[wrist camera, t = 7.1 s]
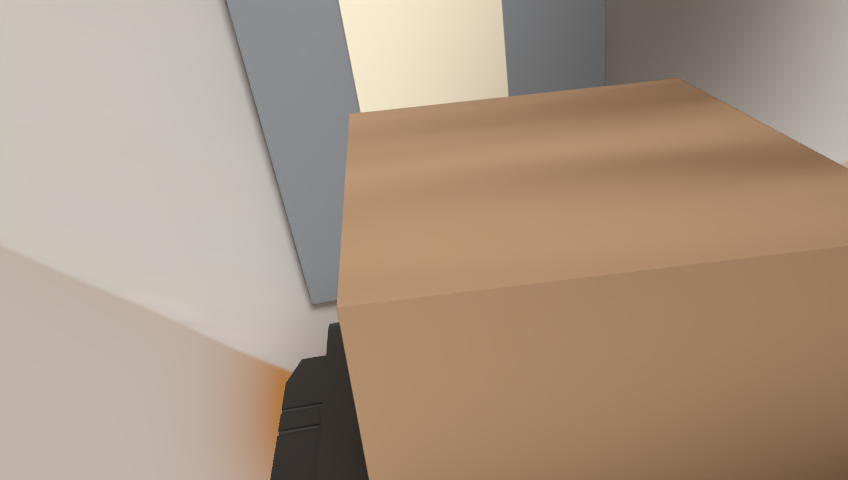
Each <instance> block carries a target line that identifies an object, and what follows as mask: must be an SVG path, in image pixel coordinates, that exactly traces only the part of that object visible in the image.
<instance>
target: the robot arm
mask: <svg viewBox="0 0 848 480" xmlns="http://www.w3.org/2000/svg"><path fill="white" fill-rule="evenodd" d="M278 431H279V436H277V443H276V448H275V454H274V460H273V467H272V473H271V480H369V476H368V471H367V466H366V460H365V455H364V450H363V445H362V439H361V434H360V429H359V423H358V418H357V413H356V407H355V402H354V397H353V392H352V386H351V381H350V376H349V370H348V365H347V360H346V354H345V349H344V344H343V338H342V333H341V328H340V323H339V322H338V323H332V324H330V325H329V329H328V340H327V353H326V355H325V356H319V357H313V358H307V359H302V360H301V362H300V363H299V365H298V366H297V368H296V369H295V371H294V372H293V373H292V375H291V377H290V378H289V379H288V381H287V382H286V386H285V393H284V398H283V404H282V414H281V417H280V423H279V430H278Z"/></svg>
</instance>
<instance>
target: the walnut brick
mask: <svg viewBox="0 0 848 480" xmlns="http://www.w3.org/2000/svg"><path fill="white" fill-rule="evenodd" d="M337 312H338V317H339V323H340V328H341V333H342V338H343V344H344V349H345V354H346V360H347V365H348V370H349V376H350V381H351V386H352V392H353V397H354V402H355V407H356V413H357V418H358V423H359V429H360V434H361V439H362V445H363V450H364V455H365V460H366V466H367V471H368V476H369V480H848V169H847V168H845V167H844V166H842V165H840V164H838V163H836V162H834V161H833V160H831V159H829V158H827V157H825V156H823V155H821V154H819V153H818V152H816V151H814V150H812V149H810V148H808V147H806V146H804V145H803V144H801V143H799V142H797V141H795V140H793V139H791V138H789V137H788V136H786V135H784V134H782V133H780V132H778V131H776V130H775V129H773V128H771V127H769V126H767V125H765V124H763V123H761V122H760V121H758V120H756V119H754V118H752V117H750V116H748V115H746V114H745V113H743V112H741V111H739V110H737V109H735V108H733V107H731V106H730V105H728V104H726V103H724V102H722V101H720V100H718V99H716V98H715V97H713V96H711V95H709V94H707V93H705V92H703V91H702V90H700V89H698V88H696V87H694V86H692V85H690V84H688V83H687V82H685V81H683V80H681V79H679V78H674V79H665V80H656V81H647V82H638V83H628V84H619V85H610V86H601V87H592V88H582V89H573V90H564V91H555V92H546V93H537V94H527V95H518V96H509V97H500V98H491V99H481V100H472V101H463V102H454V103H445V104H436V105H426V106H417V107H408V108H399V109H390V110H380V111H371V112H362V113H353V114H349V128H348V143H347V158H346V173H345V188H344V204H343V219H342V234H341V249H340V264H339V279H338V294H337Z"/></svg>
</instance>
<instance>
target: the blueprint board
mask: <svg viewBox="0 0 848 480" xmlns="http://www.w3.org/2000/svg"><path fill="white" fill-rule="evenodd" d="M226 1H227V5H228V8H229V12H230V15H231V19H232V22H233V26H234V29H235V33H236V37H237V40H238V44H239V47H240V51H241V54H242V58H243V61H244V65H245V68H246V72H247V75H248V79H249V83H250V86H251V90H252V93H253V97H254V100H255V104H256V107H257V111H258V114H259V118H260V122H261V125H262V129H263V132H264V136H265V139H266V143H267V146H268V150H269V153H270V157H271V160H272V164H273V168H274V171H275V175H276V178H277V182H278V185H279V189H280V192H281V196H282V199H283V203H284V206H285V210H286V214H287V217H288V221H289V224H290V228H291V231H292V235H293V238H294V242H295V245H296V249H297V252H298V256H299V260H300V263H301V267H302V270H303V274H304V277H305V281H306V284H307V288H308V291H309V295H310V298H311V302H312V304H317V303H323V302H329V301H335V300H337V294H338V279H339V264H340V249H341V234H342V219H343V204H344V188H345V173H346V158H347V143H348V128H349V114H353V113H362V112H371V111H380V110H390V109H399V108H408V107H417V106H426V105H436V104H445V103H454V102H463V101H472V100H481V99H491V98H500V97H509V96H518V95H527V94H537V93H546V92H555V91H564V90H573V89H582V88H592V87H601V86H605V0H226Z"/></svg>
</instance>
